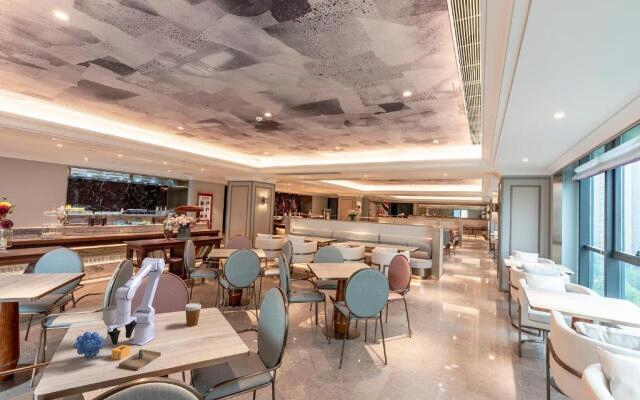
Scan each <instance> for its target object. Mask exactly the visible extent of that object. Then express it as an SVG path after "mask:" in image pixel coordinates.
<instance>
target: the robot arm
mask: <svg viewBox="0 0 640 400" xmlns="http://www.w3.org/2000/svg"><path fill="white" fill-rule="evenodd" d="M165 266H166V264H165V260H164V258H154V257H153V258H152V257H145V258H144V259H143V260H142V262H141V267H140V268H139V269H138V271H137V272H136V274H135V275H132V276H131V277H130V278H129V279H128V280H127V281H126V282H125V284H124V285H123V286H122V287H121V286H120V287H118V288H117V289H116V290H115V293H114V299H115V303H116V306H117V313H116V319H115V321H114V323H113V324H112V325H111V326H109V327H108V326H107V329H108V330H107V329H106V332H108V334H109V335H110V337H111V341H112V343H111V345H113V346H117V345H118V343H119V337H120V333H121V330H120V329H119V328H122V327H123V326H124V327H125V329H124V330H125V338H126V339H131V338H132V334H134V335H133V340H131V341H129V344H133V345H138V346H139V345H140V346H143V345H145V344H147V343H149V342H151V341H153V340H154V339H156V336H155V323H154V320H155V314H156V310H155V308H154V307H153V306H152V305H153V301H154V297H155V294H156V290H157V287H158V284H159V280H160V278H161V277H160V276H161V275H162V274H163V272H164V270H165V269H164V268H165ZM146 275H149V276H148V279H147V283H146V286H145V290H144V294H143V297H142V300H141V303H140V305H139V306H137V307H135V308H134V311H133V313H132V315H131V311H132V310H131V309H132V299H134V296H135V294H136V292H137V290H138V288H139V286H140V285H141V284H142V281H143V280H142V279H143V278H144V277H145V276H146Z"/></svg>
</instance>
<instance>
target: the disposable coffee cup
mask: <svg viewBox="0 0 640 400" xmlns="http://www.w3.org/2000/svg"><path fill="white" fill-rule="evenodd" d="M201 309H202V304H201V303H199V302H191V303H187V304H185V307H184V310H185V319H186V320H185V322H186V326H187V327H195V326H198V324H199V318H200V314H201Z"/></svg>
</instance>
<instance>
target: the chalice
mask: <svg viewBox="0 0 640 400" xmlns="http://www.w3.org/2000/svg"><path fill="white" fill-rule="evenodd" d="M101 310H102V320H103V323H104V324H105V327H107V329H106V332H107V330H108V327H109V326H111V325H112V324H114V323H115V321H116V313H117V305H109V306H106V307H105V306H104V307H102V308H101ZM106 335H107V336H106V337H105V338H104V341H103V342H102V343H103V344H104V346H105V345H106V346H107V345H108V346H109V345H112V341H111V337H110V335H109V334H108V332H107V333H106Z"/></svg>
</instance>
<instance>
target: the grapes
mask: <svg viewBox="0 0 640 400" xmlns="http://www.w3.org/2000/svg"><path fill="white" fill-rule="evenodd" d="M104 339H105V338H104V337H103V336H100V334H99V333H98V332H96V331H94V332H92V333H91V332H90V331H85V332H83V335H78V336H77V337H76V338H75V340H76V341H75V343H74V344H73V348H74V349H77V350H76V353H77V355H81V356H82V355H83V356H85V357H86V358H89V357H91V356H92V355H94V356H97V355H98V354H99V353H100V350H102V349H104V348H105V345H104V344H103V341H104Z"/></svg>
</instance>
